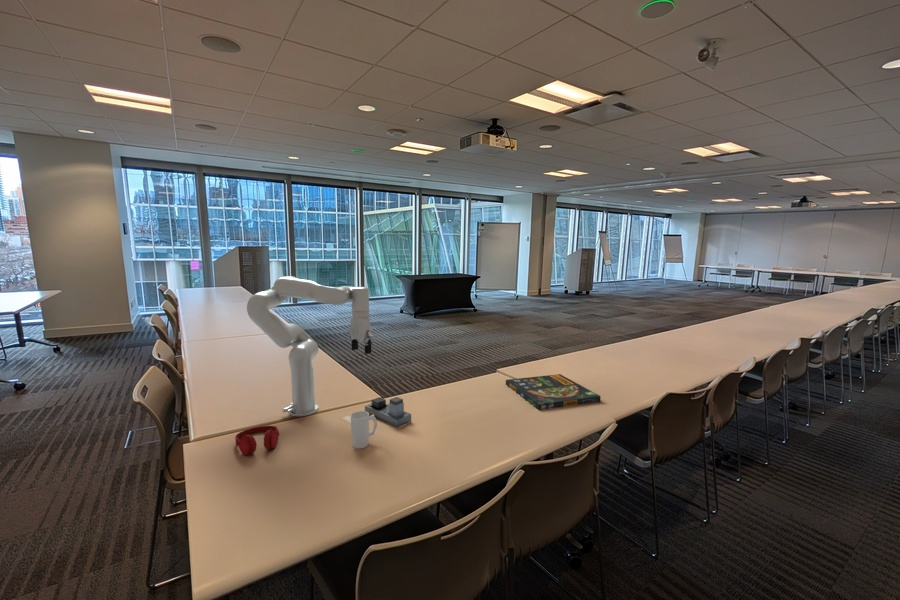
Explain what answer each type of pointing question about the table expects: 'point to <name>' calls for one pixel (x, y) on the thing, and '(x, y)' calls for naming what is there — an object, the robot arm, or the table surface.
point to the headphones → (248, 442)
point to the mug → (361, 428)
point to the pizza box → (552, 391)
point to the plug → (396, 407)
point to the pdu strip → (386, 413)
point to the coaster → (347, 419)
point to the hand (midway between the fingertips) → (361, 351)
